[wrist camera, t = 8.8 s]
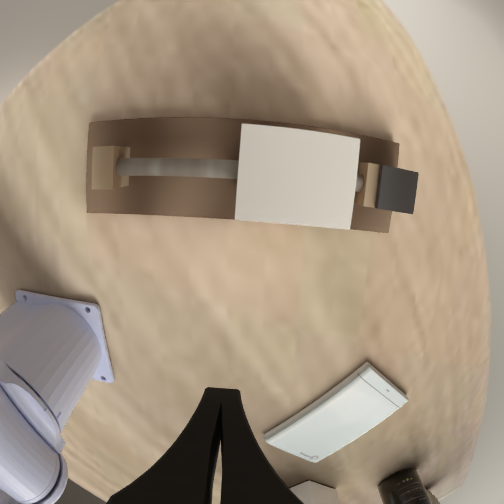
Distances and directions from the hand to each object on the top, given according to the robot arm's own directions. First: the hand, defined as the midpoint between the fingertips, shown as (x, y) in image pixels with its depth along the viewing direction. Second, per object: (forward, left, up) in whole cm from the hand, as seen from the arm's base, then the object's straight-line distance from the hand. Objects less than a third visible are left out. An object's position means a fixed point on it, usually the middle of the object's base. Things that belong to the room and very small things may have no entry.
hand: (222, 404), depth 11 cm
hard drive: (+11, -12, -10) cm, 19 cm away
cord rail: (0, +9, -9) cm, 13 cm away
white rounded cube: (+3, +9, -8) cm, 13 cm away
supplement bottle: (+27, -32, -10) cm, 43 cm away
